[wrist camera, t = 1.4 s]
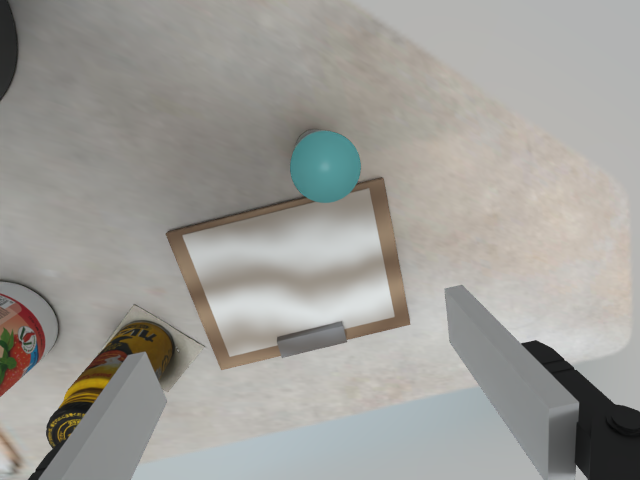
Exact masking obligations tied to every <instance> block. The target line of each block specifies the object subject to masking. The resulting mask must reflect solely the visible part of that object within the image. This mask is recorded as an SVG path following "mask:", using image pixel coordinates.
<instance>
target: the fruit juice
mask: <svg viewBox="0 0 640 480" xmlns="http://www.w3.org/2000/svg"><path fill="white" fill-rule="evenodd" d="M57 335H58V323H57V319H56V316H55V314H54V312H53V310H52V308H51V307H50V306H49V304H48V303H47V302H46V301H45V300H44V299H43V298H42V297H41V296H39V295H38V294H37V293H35V292H34V291H32V290H30V289H28V288H26V287H24V286H21V285H18V284H15V283H10V282H0V397H1V396H2V395H3V394H4V393H5V392H6V391H7V390H8V389H10V388H11V387H12V386H13V385H14V384H15V383H16V382H17V381H18V380H19V379H20V378H22V377H23V376H24V375H25V374H26V373H27V372H28V371H29V370H30V369H31V368H33V367H34V366H35V365H36V364H37V363H38V362H39V361H40V360H41V359H42V358H43V357H44V356H45V355H46V354H47V353H48V352H49V351H50V349H51V348H52V347H53V345H54V343H55V341H56V339H57Z"/></svg>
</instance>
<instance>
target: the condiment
mask: <svg viewBox="0 0 640 480" xmlns="http://www.w3.org/2000/svg"><path fill="white" fill-rule="evenodd" d="M176 346H177V348H176ZM203 348H204V346H202V345H201V344H198V343H197V342H195V341H194V340H192V339H190V338H188V337H187V336H185V335H184V334H182V333H180V332H179V331H177V330H175V329H174V328H172V327H171V326H170V325H168V324H166V323H165V322H163V321H161V320H160V319H158V318H156V317H155V316H153V315H152V314H150V313H148V312H146V311H145V310H143V309H141V308H140V307H138V306H135V305H133V307H132V308H131V309H130V311H129V312H128V313H127V315H126V316H125V318H124V319H123V320H122V322H121V323H120V325H119V326H118V327H117V329H116V330H115V331H114V333H113V334H112V335H111V337H110V338H109V340H108V341H107V342H106V344H105V345H104V346H103V348H102V349H101V350H100V352H99V353H98V356H97V357H96V358H95V359H94V360H93V361H92V363H91V364H90V365H89V366H88V367H87V368H86V369H85V371H84V372H83V373H82V374H81V375H80V376H79V377H78V379H77V380H76V381H75V382H74V383H73V384H72V386H71V387H70V388H69V389H68V391H67V392H66V394H65V397H64V401H63V403H62V404H61V405H60V407H59V409H58V410H57V411H56V412H54V414H53V415H52V416H51V417H50V420H49V422H48V424H47V430H46V436H47V439H48V441H49V444H50V445H51V447H52V448H55V447H56V446H57V445H58V444H59V443H60V442H61V441H62V440H65V439H68V438H69V436H70V435H71V434H72V432H73V431H74V429H75V428H76V427H77V425H78V424H79V423H80V421H81V420H82V418H83V417H84V416H85V414H86V413H87V411H88V410H89V409H90V407H91V406H92V405H93V403H94V402H95V400H96V399H97V398H98V396H99V395H100V393H101V392H102V391H103V389H104V388H105V387H106V385H107V384H108V382H109V381H110V380H111V378H112V377H113V376H114V374H115V373H116V371H117V370H118V369H119V367H120V366H121V364H122V363H123V362H124V360H125V359H126V358H127V356H128V355H131V354H136V353H141V352H146V354H147V356H148V358H149V361H150V363H151V365H152V367H153V370H154V372H155V374H156V377H157V379H158V381H159V383H160V386H161V388H162V389H163V390H164V391H166V392H169V390H170V389H171V388H172V387H173V385H174V384H175V383H176V382H177V380H178V379H179V378H180V377H181V375H182V374H183V373H184V372H185V370H186V369H187V368H188V367H189V365H190V364H191V363H192V362H193V361H194V359H195V358H196V357H197V356H198V354H199V353H200V352H201V351H202V350H203ZM177 349H178V350H179V352H178V351H177Z"/></svg>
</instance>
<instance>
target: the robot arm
mask: <svg viewBox="0 0 640 480" xmlns="http://www.w3.org/2000/svg"><path fill="white" fill-rule="evenodd" d="M16 54H17V43H16V33H15V27H14V22H13V18H12V15H11V11H10V9H9V6H8V3H7V1H6V0H0V98H1V97H2V96H3V94H4V93H5V91H6V90H7V88H8V86H9V84H10V81H11V79H12V76H13V73H14V69H15V63H16ZM445 299H446V309H447V320H448V330H449V341H450V343H451V345H452V346H453V348H454V349H455V351H456V352H457V354H458V355H459V357H460V358H461V360H462V361H463V362H464V364H465V365H466V367H467V368H468V370H469V371H470V373H471V374H472V376H473V377H474V379H475V380H476V381H477V383H478V384H479V386H480V387H481V389H482V390H483V392H484V393H485V395H486V396H487V398H488V399H489V400H490V402H491V403H492V405H493V406H494V408H495V409H496V411H497V412H498V414H499V415H500V417H501V418H502V419H503V421H504V422H505V424H506V425H507V427H508V428H509V430H510V431H511V433H512V434H513V435H514V437H515V438H516V440H517V441H518V443H519V444H520V446H521V447H522V449H523V450H524V452H525V453H526V455H527V456H528V457H529V459H530V460H531V461H532V463H533V465H534V466H535V468H536V469H537V471H538V472H539V473H540V475H541V476H542V478H543V479H544V480H575V474H576V465H577V466H578V467H579V469H580V470H581V471H582V472H583V473H584V475H585V476H586V477H587V478H588V480H640V412H639V411H637V410H635V409H632V408H629V407H626V406H621V405H615V404H614V403H613V402H612V401H611V400H609V399H608V398H607V397H606V396H605V395H604V394H603V393H602V392H600V391H599V390H598V389H597V388H596V387H595V386H594V385H593V384H591V383H590V382H589V381H588V380H587V379H586V378H585V377H584V376H583V375H581V374H580V373H579V372H578V371H577V370H574V367H573V366H571V365H570V364H569V363H568V362H567V361H565V360H564V358H563V357H561V356H560V355H559V354H558V353H557V352H556V351H555V350H554V349H552V348H551V347H549V346H547V345H545V344H543V343H540V342H538V341H536V340H535V341H531V342H526V343H520V342H519V341H518V340H517V339H516V338H515V337H514V336H513V335H512V334H511V333H510V332H509V331H508V330H507V329H506V328H505V327H504V326H503V325H502V324H501V323H500V322H499V321H498V320H497V319H496V318H495V317H494V316H493V315H492V314H491V313H490V312H489V311H488V310H487V309H486V308H485V307H484V306H483V305H482V304H481V303H480V302H479V301H478V300H477V299H476V298H475V297H474V296H473V295H472V294H471V293H470V292H469V291H468V290H467V289H466V288H465V287H464V286H463V285H460V286H455V287H450V288H445ZM166 403H167V399H166V397H165V395H164V393H163V390H162V388H161V386H160V383H159V381H158V379H157V377H156V374H155V372H154V370H153V367H152V365H151V363H150V361H149V358H148V356H147V354H146V352H141V353H136V354H131V355H128V356H127V358H126V359H125V360H124V362H123V363H122V364H121V366H120V367H119V369H118V370H117V371H116V373H115V374H114V376H113V377H112V378H111V380H110V381H109V382H108V384H107V385H106V387H105V388H104V389H103V391H102V392H101V393H100V395H99V396H98V398H97V399H96V400H95V402H94V403H93V405H92V406H91V407H90V409H89V410H88V411H87V413H86V414H85V416H84V417H83V418H82V420H81V421H80V423H79V424H78V425H77V427H76V428H75V429H74V431H73V432H72V434H71V435H70V436H69V438H68V439H65V440H62V441H61V442H60V443H59V444H58V445H57V446H56V447H55V448H53V449H52V450H51V451H50V452H49V453H48V454H47V455H46V456H45V458H44V459H43V460H42V462H41V463H40V464H39V466H38V467H37V468H36V472H35V473H33V474H32V475H31V476H30V478H29V479H28V480H131V478H132V476H133V474H134V472H135V469H136V467H137V465H138V463H139V461H140V459H141V457H142V454H143V452H144V450H145V448H146V446H147V444H148V442H149V439H150V437H151V435H152V433H153V431H154V429H155V426H156V424H157V422H158V420H159V418H160V416H161V414H162V411H163V409H164V407H165V405H166Z"/></svg>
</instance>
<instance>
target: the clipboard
mask: <svg viewBox="0 0 640 480" xmlns="http://www.w3.org/2000/svg"><path fill="white" fill-rule="evenodd" d="M166 236H167V238H168V241H169V243H170V246H171V248H172V251H173V253H174V256H175V258H176V260H177V263H178V265H179V268H180V270H181V273H182V275H183V278H184V280H185V283H186V285H187V287H188V290H189V292H190V295H191V297H192V300H193V302H194V305H195V307H196V310H197V312H198V314H199V317H200V319H201V322H202V324H203V327H204V329H205V332H206V334H207V337H208V339H209V341H210V344H211V346H212V349H213V351H214V354H215V356H216V359H217V361H218V364H219V366H220V368H221V370H224V369H228V368H232V367H237V366H241V365H245V364H249V363H253V362H257V361H261V360H265V359H270V358H274V357H278V356H282V358H283V357H287V356H291V355H296V354H300V353H304V352H308V351H312V350H316V349H320V348H325V347H329V346H333V345H337V344H341V343H345V342H347V340H348V339H352V338H357V337H361V336H365V335H369V334H373V333H377V332H381V331H386V330H390V329H394V328H398V327H402V326H406V325H410V319H409V314H408V309H407V303H406V298H405V292H404V287H403V282H402V276H401V271H400V265H399V260H398V254H397V249H396V244H395V238H394V233H393V227H392V222H391V216H390V211H389V206H388V200H387V195H386V189H385V184H384V179H383V178H378V179H374V180H370V181H366V182H362V183H358V184H356V185H355V187H354V188H353V190H352V191H351V192H350V193H349V194H348V195H347V196H345V197H344V198H342V199H340V200H338V201H335V202H330V203H320V202H315V201H312V200H310V199H308V198H307V197H303V198H299V199H295V200H291V201H287V202H283V203H279V204H275V205H271V206H267V207H263V208H259V209H255V210H251V211H247V212H243V213H239V214H235V215H231V216H227V217H223V218H219V219H216V220H212V221H208V222H204V223H200V224H196V225H192V226H188V227H184V228H180V229H176V230H172V231H168V232H167V233H166Z"/></svg>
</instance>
